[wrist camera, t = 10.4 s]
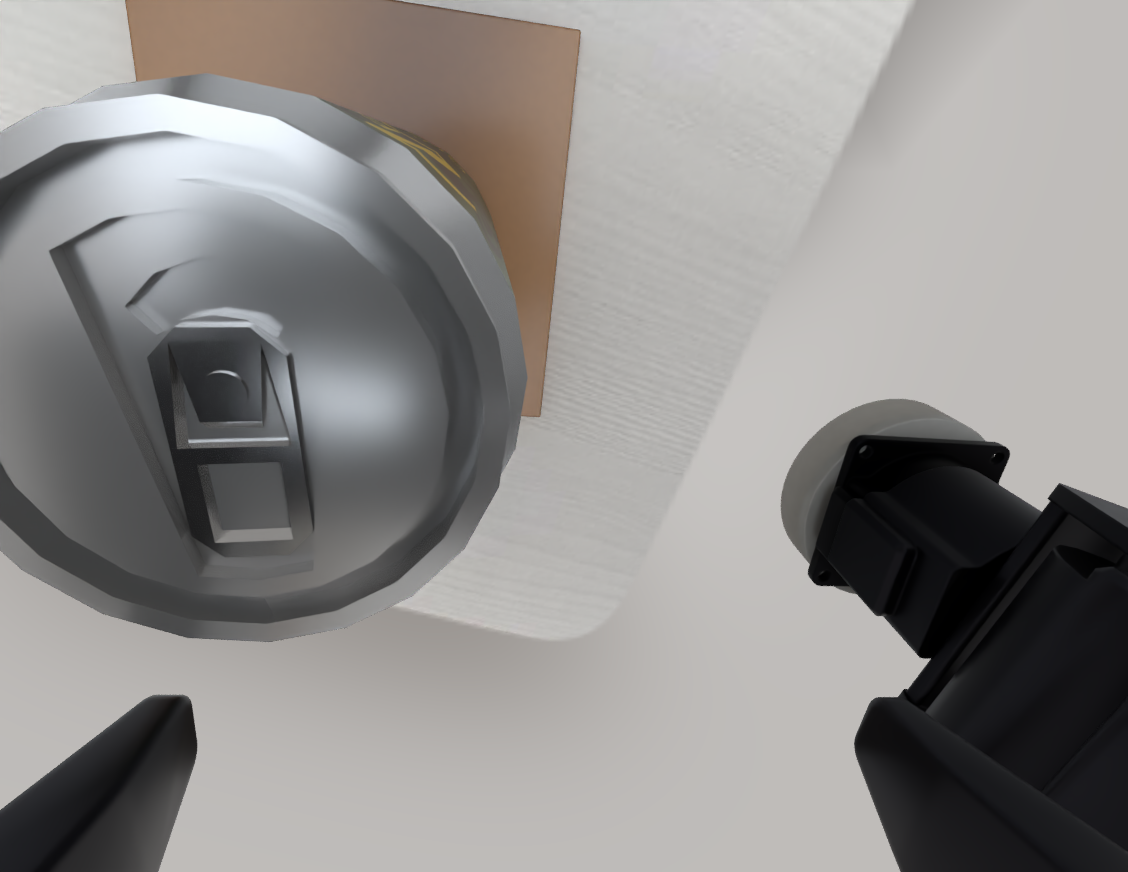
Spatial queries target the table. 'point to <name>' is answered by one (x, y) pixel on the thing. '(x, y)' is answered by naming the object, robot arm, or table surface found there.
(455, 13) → the cork mat
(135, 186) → the green drink can
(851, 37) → the table surface
